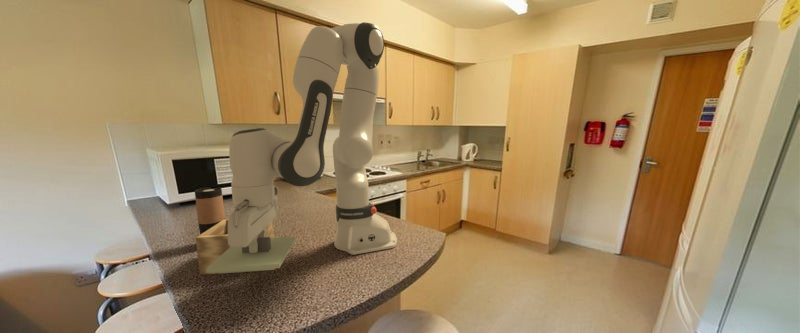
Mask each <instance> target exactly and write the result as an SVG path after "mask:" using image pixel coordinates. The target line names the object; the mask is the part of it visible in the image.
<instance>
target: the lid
mask: <svg viewBox="0 0 800 333" xmlns="http://www.w3.org/2000/svg"><path fill="white" fill-rule="evenodd" d="M296 239H297V238H296V236H289V237H285V236H284V237H274V238H270V237H262V238H257V243H259V250H258V251H257V252H256V253H250V252H249V246H247V247H241V248H231V247H230V248H229V249H228V250H227V251H225V252H224V253H223V254H222V255H221V256H220V257H219V258H218V259H216V260H215V261H214V262H213V263H212V264H211V265H210V266H209V267H207V268H206V273H214V272H219V273H218V274H232V273H233V274H234V273H246V272H247V273H249V272H260V271H275V269H280V268H281V266H282V264H283V263H284V261H285V260H286V258H287V256H288V254H289V252H291V249H292V247H293V246H294V244H295V243H296V241H297V240H296Z"/></svg>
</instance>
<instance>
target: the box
mask: <svg viewBox="0 0 800 333" xmlns="http://www.w3.org/2000/svg"><path fill="white" fill-rule="evenodd" d="M228 219H229V218H225V219H224V220H222V221H221V222H219V223H218V224H216V225H214V226H213V227H211V228H210V229H208V230H207V231H205V232H204V233H202V234H201V235H200V234H199V235H197V236H196V237H195V238H194V239H195V246H196V253H197V259H198V260H197V261H198V268H199V275H200V276H204V275H215V274H216V275H217V274H220V273H219V272H214V273H206V268H207V267H209V266H210V265H211V264H212V263H213V262H214V261H215V260H216V259H218V258H219V257H220V256H221V255H222V254H223V253H224V252H225V251H227V250H228V249H229V248H230V246H229V244H228ZM273 221H274V220H273ZM273 221H272V222H271V223H270V224H269V225H268V226H267V227H266V233H265V237H270V238H275V233H274V232H275V231H274V222H273Z"/></svg>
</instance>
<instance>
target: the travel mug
mask: <svg viewBox="0 0 800 333" xmlns="http://www.w3.org/2000/svg"><path fill="white" fill-rule="evenodd" d="M222 191H223V190H222V187H220V186H217V187H216V188H211V187H203V188H198V189H196V190H194V196H195V206H196V207H195V208H196V215H197V224H198V229H199V235H201V234H202V233H204V232H205V231H207V230H208V229H210V228H211V227H213V226H214V225H216V224H218V223H219V222H221V221H222V220H224V219H226V214H225V207H224V198H223V192H222Z"/></svg>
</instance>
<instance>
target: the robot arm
mask: <svg viewBox="0 0 800 333" xmlns="http://www.w3.org/2000/svg"><path fill="white" fill-rule="evenodd" d="M384 49H385V38H384V35H383V32H382V31H381V29H380V28H379V26H378V25H376V24H375V23H371V22H360V23H358V22H357V23H353V22H352V23H346V24H343V25H338V26H335V27H329V26H328V27H327V26H324V25H317V26H315V27H313V28H312V29H311V30H310V31H309V32H308V34H307V36H306V38H305V40H304V42H303V43H302V46H301V47H300V50H299V53H298V56H297V59H296V63H295V65H294V69H293V76H292V85H293V87H294V90H295V91H296V93H298V95H299V96H300V97H301V101H302V111H301V114H300V118H299V122H298V126H297V130H296V134H295V137H294V139H293V140H292V141H290V140H287V139H285V138H283V137H280V136H278V135H276V134H274V133H272V132H270V131H269V130H267V128H264V127H263V128H262V127H257V128H250V129H249V128H248V129H243V130H242V129H241V130H238V131H236V132H234V133H233V134H232V135H231V136H230V141H229V151H228V152H229V154H228V155H229V157H228V158H229V168H230V170H231V173H232V174H231V175H232V179H231V195H232V196H231V198H232V204H233V206H234V207H233V208H234V209H233V211H232V212H230V214H229V215H228V218H227V219H228V244H229V246H230V247H231V248H241V247H247V246H249V252H250V253H256V252H257V251H258V250H259V243H257V238H262V237H265V233H266V227H267V226H268V225H269V224H270V223H271V222H272V221H274V220H275V219H276V217H277V212H278V197H277V196H278V194H279V187H278V186H276V185H274V184H275V183H274V179H276V178H282V179H284V180H285V181H286V182H287V183H289V184H290V185H292V186H295V187H306V186H307V187H308V186H310V185H312V184H314V183H315V182H317V181H318V180H319V179H320V178H321V176H322V175H323V173H324V170H325V166H326V164H325V161H326V160H325V152H324V151H325V150H324V145H325V140H326V134H327V129H328V125H329V120H330V116H331V111H332V105H333V99H334V92H335V88H336V86H337V81H338V78H339V74H340V71H341V67H342V66H341V65H346V68H347V76H346V79H345V84H344V88H343V89H344V90H343V94H342V101H341V107H340V113H339V114H340V120H339V134H338V135H339V136H338V137H336V138H335V139H334V141H333V143H332V156H333V167H334V176H335V184H336V185H335V188H336V206H335V218H336V223H337V224H336V233H335V238H334V242H333V244H334V245H333V246H334V247H335V248H336V249H338V250H339V251H343V252H346V253H347V254H348V255H349V254H350V255H352V256H353V255H361V254H365V253H372V252H377V251H382V250H389V249H393V248H395V247H397V245H398V238H397V235H396V233H395V232H393V231H392V230H391V227H390V224H389V223H388V221H387V220H386V219H385V218H383V217H382V216H380V215H379V214H377V207H376V206H375V205H374V203H373V202H372V203H371V202H370V196H369V195H370V194H369V180H368V175H367V170H366V165H367V164H369V163H370V161H371V160H372V159H373V155H374V149H373V138H374V136H373V135H374V134H373V133H374V126H373V125H374V115H375V111H376V110H375V109H376V103H377V98H378V91H379V69H378V68H379V67H378V65H379V63H380V62H381V61H380V60H381V58H382V56H383V54H384Z"/></svg>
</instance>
